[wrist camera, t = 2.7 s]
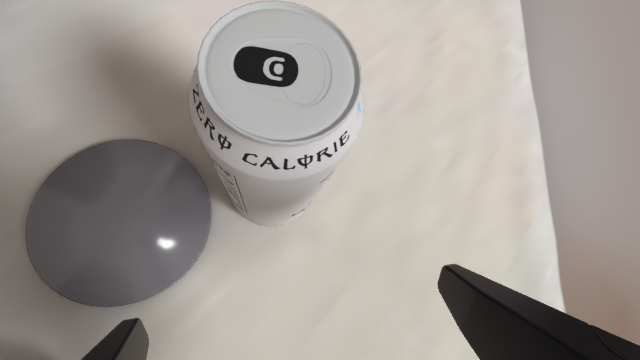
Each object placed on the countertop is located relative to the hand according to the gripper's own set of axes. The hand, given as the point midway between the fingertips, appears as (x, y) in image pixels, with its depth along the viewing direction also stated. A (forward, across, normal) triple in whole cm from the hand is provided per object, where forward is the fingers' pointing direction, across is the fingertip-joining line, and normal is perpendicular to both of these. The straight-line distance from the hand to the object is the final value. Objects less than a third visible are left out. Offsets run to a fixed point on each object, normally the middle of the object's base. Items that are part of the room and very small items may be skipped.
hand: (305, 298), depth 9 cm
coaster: (+13, -10, -5) cm, 17 cm away
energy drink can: (+14, 0, -5) cm, 15 cm away
